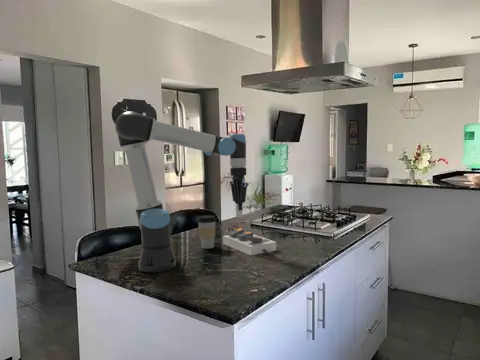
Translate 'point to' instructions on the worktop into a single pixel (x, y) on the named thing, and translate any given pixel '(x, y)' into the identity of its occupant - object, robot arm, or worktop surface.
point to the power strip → (250, 245)
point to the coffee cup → (207, 230)
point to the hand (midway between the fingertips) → (239, 216)
